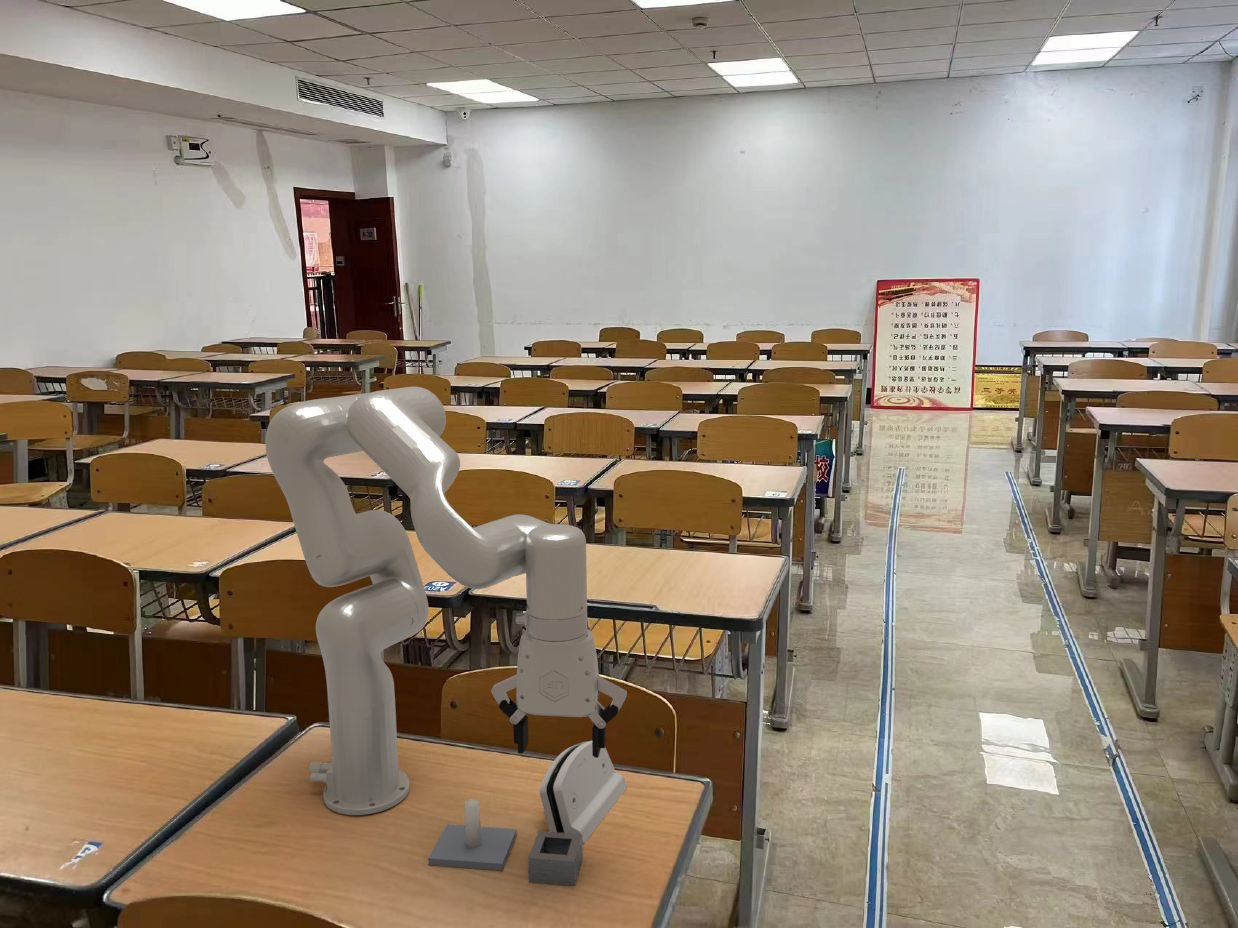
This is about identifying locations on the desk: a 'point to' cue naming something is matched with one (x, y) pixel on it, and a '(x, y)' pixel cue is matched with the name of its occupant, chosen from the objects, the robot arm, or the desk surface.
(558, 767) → the grey slotted holder
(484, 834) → the keeper
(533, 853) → the grey square hollow block
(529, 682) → the robot arm
